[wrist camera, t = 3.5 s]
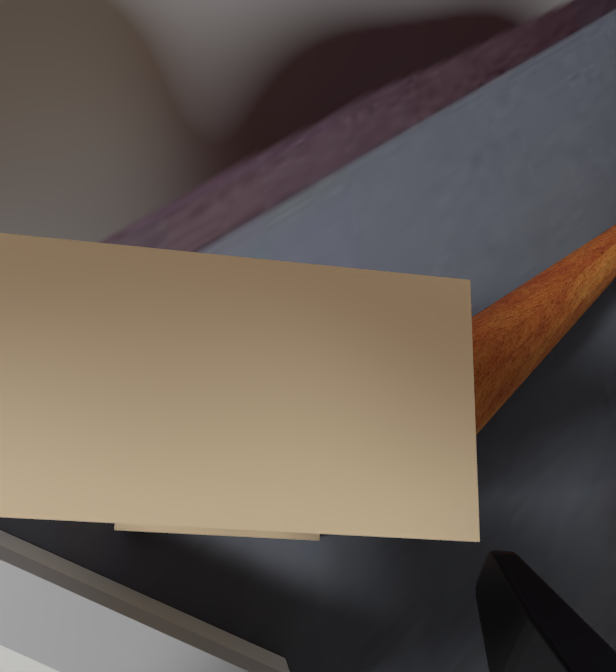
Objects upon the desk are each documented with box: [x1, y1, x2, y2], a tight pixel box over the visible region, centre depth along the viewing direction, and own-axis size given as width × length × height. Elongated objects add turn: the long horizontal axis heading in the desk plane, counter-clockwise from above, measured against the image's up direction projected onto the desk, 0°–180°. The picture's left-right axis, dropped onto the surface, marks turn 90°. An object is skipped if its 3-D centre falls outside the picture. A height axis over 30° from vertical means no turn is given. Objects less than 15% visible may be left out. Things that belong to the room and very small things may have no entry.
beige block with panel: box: [0, 233, 480, 542], centre depth 12 cm, size 4×6×13 cm, turn 87°
